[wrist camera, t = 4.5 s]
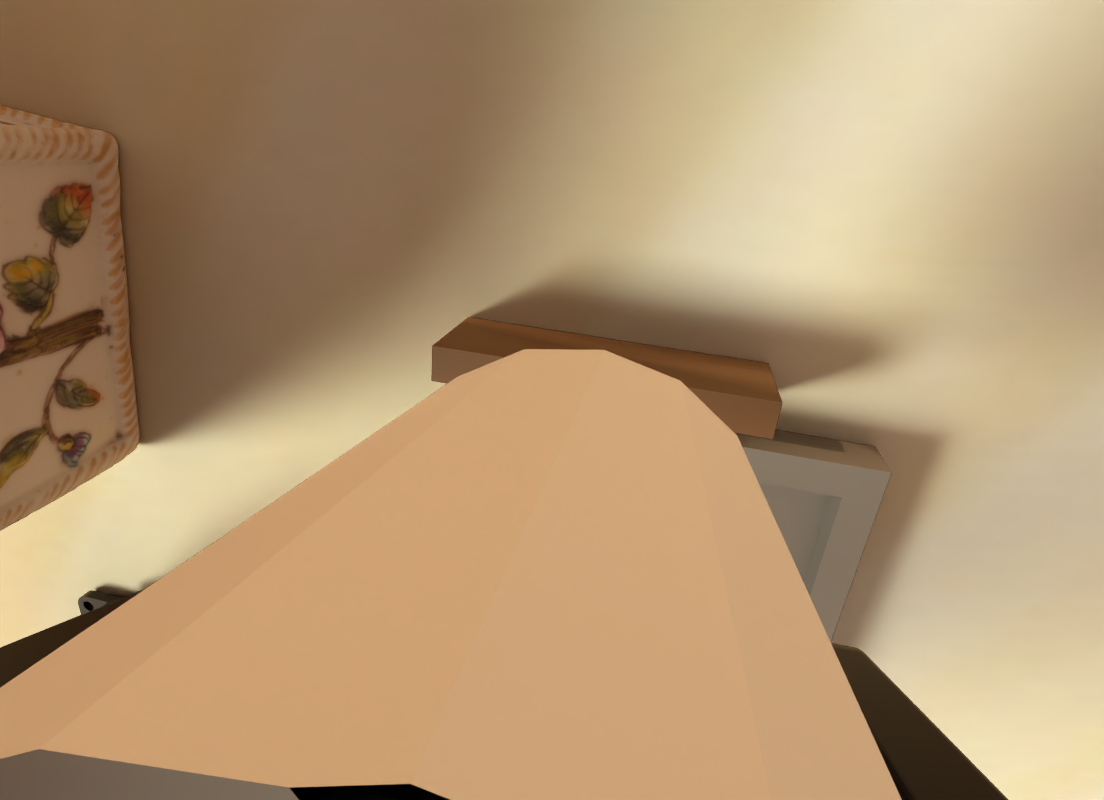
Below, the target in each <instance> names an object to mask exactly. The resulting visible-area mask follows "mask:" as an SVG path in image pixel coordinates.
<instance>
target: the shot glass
mask: <svg viewBox="0 0 1104 800" xmlns="http://www.w3.org/2000/svg"><path fill="white" fill-rule="evenodd" d="M0 800H902V799H901V797H900V795H899V793H898V790H897V788H896V786H895V784H894V782H893V779H892V777H891V775H890V773H889V770H888V768H887V766H886V764H885V762H884V759H883V757H882V755H881V753H880V751H879V748H878V746H877V744H876V742H875V739H874V737H873V735H872V733H871V731H870V728H869V726H868V724H867V722H866V720H865V717H864V715H863V713H862V711H861V709H860V706H859V704H858V702H857V700H856V697H855V695H854V693H853V691H852V689H851V686H850V684H849V682H848V680H847V678H846V675H845V673H844V671H843V669H842V666H841V664H840V662H839V660H838V658H837V655H836V653H835V651H834V649H833V647H832V644H831V642H830V640H829V638H828V636H827V633H826V631H825V629H824V627H823V624H822V622H821V620H820V618H819V616H818V613H817V611H816V609H815V607H814V605H813V602H812V600H811V598H810V596H809V593H808V591H807V589H806V587H805V585H804V582H803V580H802V578H801V576H800V574H799V571H798V569H797V567H796V565H795V563H794V560H793V558H792V556H791V554H790V551H789V549H788V547H787V545H786V543H785V540H784V538H783V536H782V534H781V532H780V529H779V527H778V525H777V523H776V520H775V518H774V516H773V514H772V512H771V509H770V507H769V505H768V503H767V501H766V498H765V496H764V494H763V492H762V490H761V487H760V485H759V483H758V481H757V478H756V476H755V474H754V472H753V470H752V467H751V465H750V463H749V461H748V459H747V456H746V454H745V452H744V450H743V447H742V445H741V443H740V441H739V439H738V436H737V435H736V434H735V433H734V432H733V431H732V430H731V429H730V428H729V427H728V426H727V425H726V424H725V423H724V422H723V421H722V420H720V419H719V418H718V417H717V416H716V415H715V414H714V413H713V412H712V411H711V410H710V409H709V408H708V407H707V406H706V405H705V404H704V403H703V402H702V401H701V400H700V399H699V398H698V397H697V396H696V395H695V394H694V393H693V392H692V391H691V390H689V389H688V388H687V387H686V386H685V385H684V384H683V383H682V382H681V381H680V380H677V379H675V378H673V377H670V376H668V375H665V374H663V373H660V372H658V371H655V370H653V369H650V368H648V367H645V366H643V365H640V364H638V363H635V362H633V361H631V360H628V359H626V358H623V357H621V356H618V355H616V354H613V353H611V352H608V351H606V350H566V349H524V350H521V351H519V352H516V353H514V354H512V355H509V356H507V357H504V358H502V359H499V360H497V361H495V362H492V363H490V364H487V365H485V366H482V367H480V368H477V369H475V370H473V371H470V372H468V373H465V374H463V375H460V376H458V377H456V378H455V379H453V380H452V381H450V382H449V383H447V384H446V385H445V386H443V387H442V388H440V389H439V390H437V391H436V392H434V393H433V394H431V395H430V396H428V397H427V398H425V399H424V400H422V401H421V402H420V403H418V404H417V405H415V406H414V407H412V408H411V409H409V410H408V411H406V412H405V413H403V414H402V415H400V416H399V417H397V418H396V419H395V420H393V421H392V422H390V423H389V424H387V425H386V426H384V427H383V428H381V429H380V430H378V431H377V432H375V433H374V434H372V435H371V436H370V437H368V438H367V439H365V440H364V441H362V442H361V443H359V444H358V445H356V446H355V447H353V448H352V449H350V450H349V451H347V452H346V453H345V454H343V455H342V456H340V457H339V458H337V459H336V460H334V461H333V462H331V463H330V464H328V465H327V466H325V467H324V468H322V469H321V470H320V471H318V472H317V473H315V474H314V475H312V476H311V477H309V478H308V479H306V480H305V481H303V482H302V483H300V484H299V485H297V486H296V487H295V488H293V489H292V490H290V491H289V492H287V493H286V494H284V495H283V496H281V497H280V498H278V499H277V500H275V501H274V502H272V503H271V504H270V505H268V506H267V507H265V508H264V509H262V510H261V511H259V512H258V513H256V514H255V515H253V516H252V517H250V518H249V519H248V520H246V521H245V522H243V523H242V524H240V525H239V526H237V527H236V528H234V529H233V530H231V531H230V532H228V533H227V534H225V535H224V536H223V537H221V538H220V539H218V540H217V541H215V542H214V543H212V544H211V545H209V546H208V547H206V548H205V549H203V550H202V551H200V552H199V553H198V554H196V555H195V556H193V557H192V558H190V559H189V560H187V561H186V562H184V563H183V564H181V565H180V566H178V567H177V568H175V569H174V570H173V571H171V572H170V573H168V574H167V575H165V576H164V577H162V578H161V579H159V580H158V581H156V582H155V583H153V584H152V585H150V586H149V587H148V588H146V589H145V590H143V591H142V592H140V593H139V594H137V595H136V596H134V597H133V598H131V599H130V600H128V601H127V602H125V603H124V604H123V605H121V606H120V607H118V608H117V609H115V610H114V611H112V612H111V613H109V614H108V615H106V616H105V617H103V618H102V619H100V620H99V621H98V622H96V623H95V624H93V625H92V626H90V627H89V628H87V629H86V630H84V631H83V632H81V633H80V634H78V635H77V636H75V637H74V638H73V639H71V640H70V641H68V642H67V643H65V644H64V645H62V646H61V647H59V648H58V649H56V650H55V651H53V652H52V653H50V654H49V655H48V656H46V657H45V658H43V659H42V660H40V661H39V662H37V663H36V664H34V665H33V666H31V667H30V668H28V669H27V670H25V671H24V672H23V673H21V674H20V675H18V676H17V677H15V678H14V679H12V680H11V681H9V682H8V683H6V684H5V685H3V686H2V687H0Z"/></svg>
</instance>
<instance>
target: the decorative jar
mask: <svg viewBox="0 0 1104 800" xmlns="http://www.w3.org/2000/svg"><path fill="white" fill-rule="evenodd" d="M118 158H119V157H118V144H117V142H116V140H115V138H114V137H113V136H112V135H111V134H110V133H108V132H105V131H101V130H96V129H91V128H86V127H82V126H78V125H75V124H73V123H64V122H61V121H58V120H55V119H52V118H47V117H44V116H41V115H37V114H33V113H29V112H25V111H21V110H17V109H13V108H9V107H6V106H3V105H0V531H1V530H2V529H4V528H6V527H8V526H10V525H11V524H13V523H15V522H17V521H19V520H21V519H23V518H25V517H27V516H28V515H29V514H31V513H32V512H35V511H37V510H39V509H40V508H42V507H44V506H46V505H47V504H49V503H51V502H53V501H55V500H56V499H58V498H60V497H62V496H63V495H65V494H67V493H68V492H70V491H72V490H74V489H75V488H77V487H78V486H80V485H81V484H83V483H85V482H87V481H89V480H90V479H92V478H94V477H95V476H97V475H99V474H100V473H102V472H103V471H105V470H107V469H109V468H110V467H112V466H113V465H114V464H116V463H118V462H120V461H121V460H123V459H124V458H125V457H126V456H127V455H129V454H130V453H131V452H133V451H134V450H135V449H136V447H137V445H138V443H139V437H140V431H139V423H138V416H137V404H136V393H135V381H134V374H133V363H132V357H131V348H130V338H129V328H130V317H129V302H128V290H127V276H126V264H125V251H124V242H123V235H122V224H121V214H120V175H119V169H118Z"/></svg>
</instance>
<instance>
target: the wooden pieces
mask: <svg viewBox="0 0 1104 800" xmlns="http://www.w3.org/2000/svg"><path fill="white" fill-rule="evenodd" d="M524 349H566V350H606V351H608V352H611V353H613V354H616V355H618V356H621V357H623V358H626V359H628V360H631V361H633V362H635V363H638V364H640V365H643V366H645V367H648V368H650V369H653V370H655V371H658V372H660V373H663V374H665V375H668V376H670V377H673V378H675V379H677V380H680V381H681V382H682V383H683V384H684V385H685V386H686V387H687V388H688V389H689V390H691V391H692V392H693V393H694V394H695V395H696V396H697V397H698V398H699V399H700V400H701V401H702V402H703V403H704V404H705V405H706V406H707V407H708V408H709V409H710V410H711V411H712V412H713V413H714V414H715V415H716V416H717V417H718V418H719V419H720V420H722V421H723V422H724V423H725V424H726V425H727V426H728V427H729V428H730V429H731V430H732V431H733V432H734V433H740V434H746V435H751V436H757V437H763V438H769V439H773V436H774V432H775V429H776V425H777V421H778V417H779V413H780V410H781V406H782V400H781V397H780V395H779V392H778V389H777V386H776V384H775V381H774V378H773V375H772V373H771V370H770V367H769V364H768V363H762V362H755V361H749V360H742V359H736V358H729V357H723V356H717V355H710V354H704V353H697V352H691V351H684V350H678V349H671V348H665V347H658V346H652V345H645V344H639V343H632V342H626V341H619V340H613V339H606V338H600V337H593V336H587V335H580V334H574V333H567V332H561V331H554V330H548V329H541V328H535V327H528V326H522V325H516V324H509V323H503V322H496V321H490V320H483V319H477V318H470V317H468V318H467V319H466V320H464V321H463V322H462V323H461V324H459V325H458V326H457V327H455V328H454V329H453V330H452V331H450V332H449V333H448V334H447V335H445V336H444V337H443V338H442V339H440V340H439V341H438V342H437V343H435V344H434V345H433V346H432V381H436V382H441V383H449V382H450V381H452V380H453V379H455V378H456V377H458V376H460V375H463V374H465V373H468V372H470V371H473V370H475V369H477V368H480V367H482V366H485V365H487V364H490V363H492V362H495V361H497V360H499V359H502V358H504V357H507V356H509V355H512V354H514V353H516V352H519V351H521V350H524Z"/></svg>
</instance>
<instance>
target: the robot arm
mask: <svg viewBox="0 0 1104 800" xmlns="http://www.w3.org/2000/svg"><path fill="white" fill-rule="evenodd" d="M144 590H145V589H144ZM142 591H143V590H142ZM142 591H139V592H137V593H134V594H132V595H129V596H127V597H124V598H122V597H118V596H113V595H109V594H105V593H101V592H97V591H89V592H87V593H86V594H84V595H83V596H82V597H80V598H79V600H78V604H79V608H80V612H81V615H80V616H77V617H75V618H72V619H70V620H68V621H65V622H63V623H60V624H58V625H55V626H53V627H50V628H48V629H45V630H43V631H40V632H38V633H35V634H33V635H30V636H28V637H25V638H23V639H21V640H18V641H16V642H13V643H11V644H8V645H6V646H3V647H1V648H0V687H2V686H3V685H5V684H6V683H8V682H9V681H11V680H12V679H14V678H15V677H17V676H18V675H20V674H21V673H23V672H24V671H25V670H27V669H28V668H30V667H31V666H33V665H34V664H36V663H37V662H39V661H40V660H42V659H43V658H45V657H46V656H48V655H49V654H50V653H52V652H53V651H55V650H56V649H58V648H59V647H61V646H62V645H64V644H65V643H67V642H68V641H70V640H71V639H73V638H74V637H75V636H77V635H78V634H80V633H81V632H83V631H84V630H86V629H87V628H89V627H90V626H92V625H93V624H95V623H96V622H98V621H99V620H100V619H102V618H103V617H105V616H106V615H108V614H109V613H111V612H112V611H114V610H115V609H117V608H118V607H120V606H121V605H123V604H124V603H125V602H127V601H128V600H130V599H131V598H133V597H134V596H136V595H137V594H139V593H140V592H142ZM831 644H832V647H833V649H834V651H835V653H836V655H837V658H838V660H839V662H840V664H841V666H842V669H843V671H844V673H845V675H846V678H847V680H848V682H849V684H850V686H851V689H852V691H853V693H854V695H855V697H856V700H857V702H858V704H859V706H860V709H861V711H862V713H863V715H864V717H865V720H866V722H867V724H868V726H869V728H870V731H871V733H872V735H873V737H874V739H875V742H876V744H877V746H878V748H879V751H880V753H881V755H882V757H883V759H884V762H885V764H886V766H887V768H888V770H889V773H890V775H891V777H892V779H893V782H894V784H895V786H896V788H897V790H898V793H899V795H900V797H901V799H902V800H1008V799H1007V798H1006V797H1005V796H1004V795H1003V794H1002V793H1001V792H1000V791H999V790H998V789H997V788H996V787H995V786H994V784H993V783H992V782H991V781H990V780H989V779H988V778H987V777H986V776H985V775H984V774H983V773H982V772H981V771H980V770H979V769H978V768H977V767H976V766H975V765H974V764H973V763H972V762H971V761H970V760H969V759H968V758H967V757H966V756H965V755H964V754H963V753H962V752H961V751H960V750H959V749H958V748H957V747H956V746H955V745H954V744H953V743H952V742H951V741H950V740H949V739H948V738H947V737H946V736H945V735H944V734H943V733H942V732H941V730H940V729H939V728H938V727H937V726H936V725H935V724H934V723H933V722H932V721H931V720H930V719H929V718H928V717H927V716H926V715H925V714H924V713H923V712H922V711H921V710H920V709H919V708H918V707H917V706H916V705H915V704H914V703H913V702H912V701H911V700H910V699H909V698H908V697H907V696H906V695H905V694H904V693H903V692H902V691H901V690H900V689H899V688H898V687H897V686H896V685H895V684H894V683H893V682H892V681H891V680H890V679H889V678H888V676H887V675H886V674H885V673H884V672H883V671H882V670H881V669H880V668H879V667H878V666H877V665H876V664H875V663H874V662H873V661H872V660H871V659H870V658H869V657H868V656H867V655H866V654H865V653H864V652H862V651H861V650H859V649H857V648H854V647H849V646H844V645H838V644H833V643H831Z"/></svg>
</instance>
